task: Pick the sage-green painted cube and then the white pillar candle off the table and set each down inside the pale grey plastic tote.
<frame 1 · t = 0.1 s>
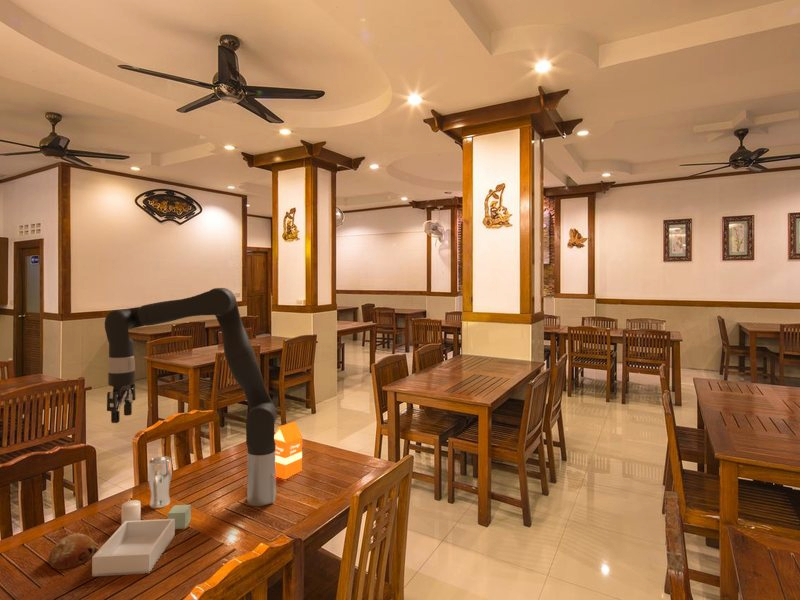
hand: (121, 418, 149), 29 cm above the table, fingers open, 8 cm apart
orange juice: (286, 474, 178), on the table
beer glass: (160, 504, 152), on the table
white pillar candle: (131, 526, 138), on the table
bread roll: (74, 559, 122), on the table
sage block: (179, 524, 139), on the table
grey tote: (136, 554, 124), on the table
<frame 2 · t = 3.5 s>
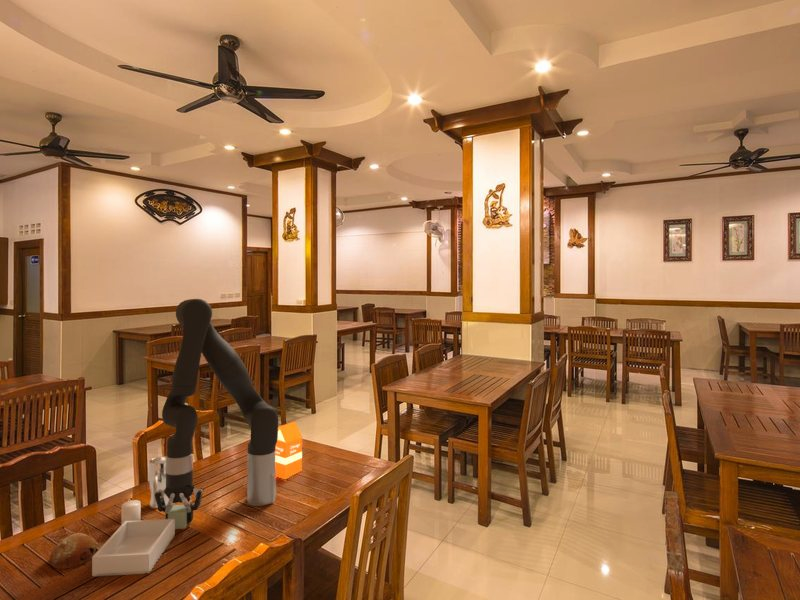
hand: (179, 523, 139), 0 cm above the table, fingers closed on sage block, 5 cm apart
sage block: (179, 524, 139), on the table, touching gripper
everything else where it was.
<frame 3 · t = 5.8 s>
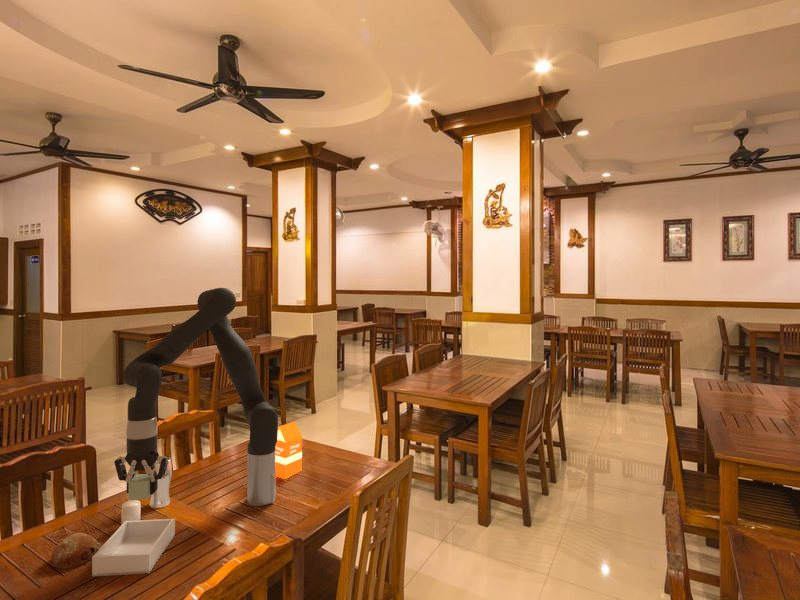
hand: (142, 493, 127), 15 cm above the table, fingers closed on sage block, 5 cm apart
sage block: (142, 495, 127), point 15 cm above the table, touching gripper
everything else where it was.
when the fingers open (3 cm above the table, at t = 8.5 s): sage block drops 2 cm, resting on grey tote.
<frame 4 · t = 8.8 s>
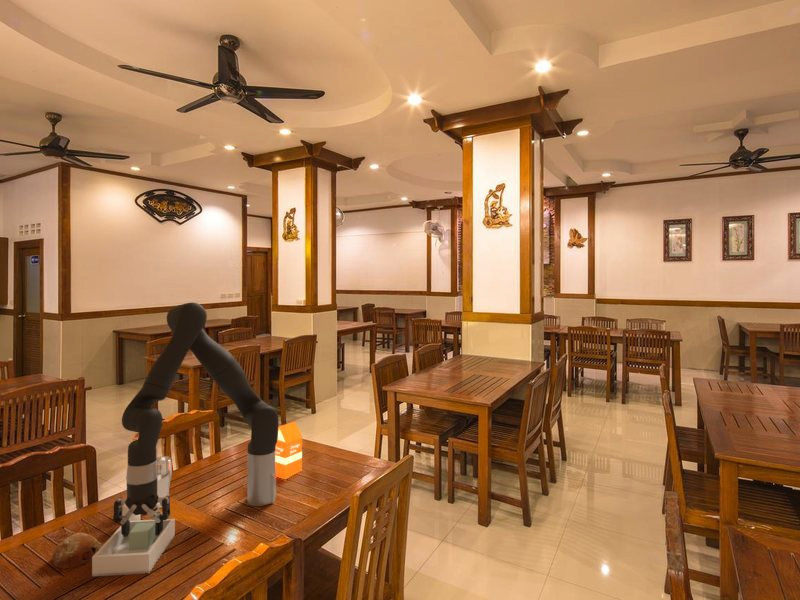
hand: (142, 534, 127), 4 cm above the table, fingers open, 8 cm apart
sage block: (142, 544, 127), point 1 cm above the table, touching grey tote
everything else where it was.
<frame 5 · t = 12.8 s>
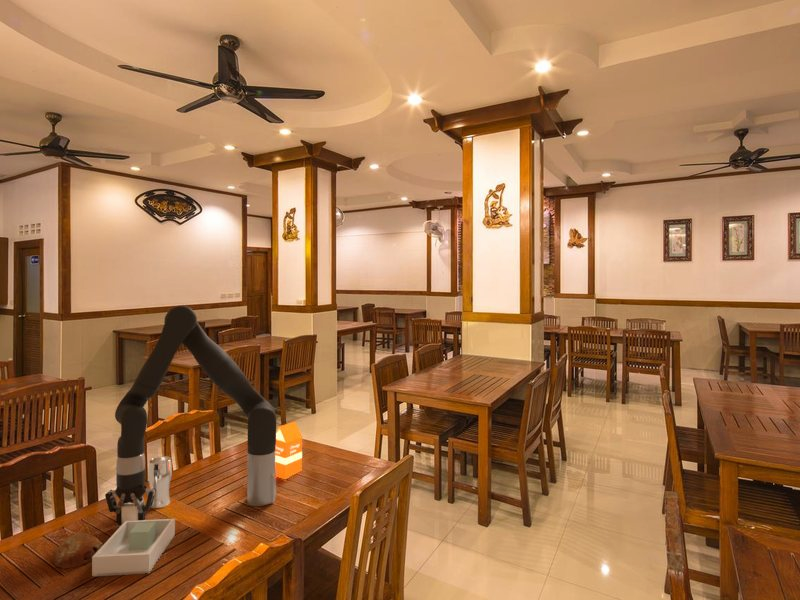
hand: (131, 523, 138), 1 cm above the table, fingers closed on white pillar candle, 5 cm apart
white pillar candle: (131, 526, 138), on the table, touching gripper
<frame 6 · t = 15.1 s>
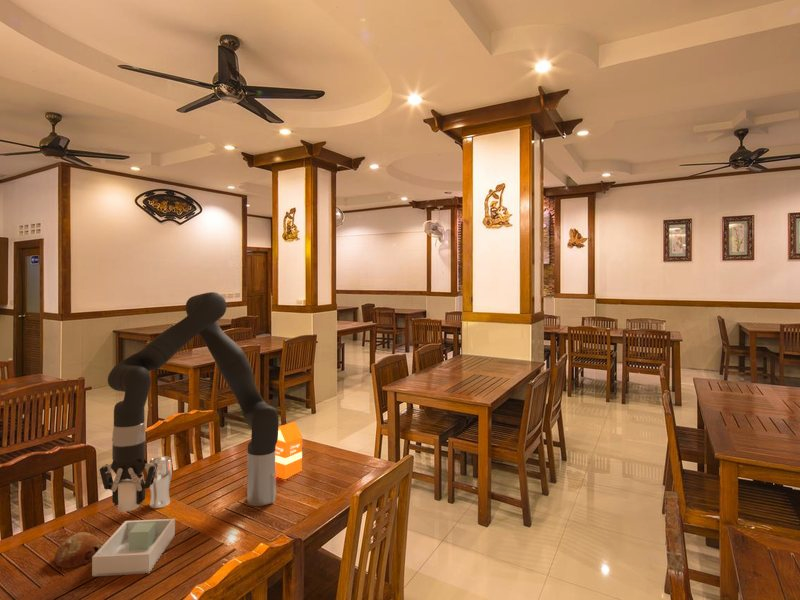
hand: (128, 503, 121), 16 cm above the table, fingers closed on white pillar candle, 5 cm apart
white pillar candle: (128, 506, 121), point 15 cm above the table, touching gripper
when the fingers open (3 cm above the table, at t = 17.9 s): white pillar candle drops 2 cm, resting on grey tote.
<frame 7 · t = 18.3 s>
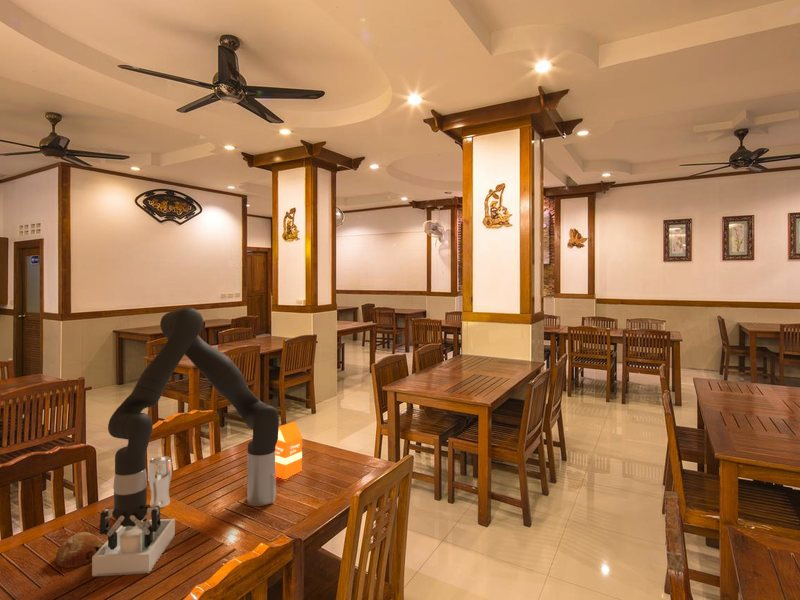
hand: (130, 547, 120), 4 cm above the table, fingers open, 8 cm apart
white pillar candle: (131, 559, 120), point 1 cm above the table, touching grey tote
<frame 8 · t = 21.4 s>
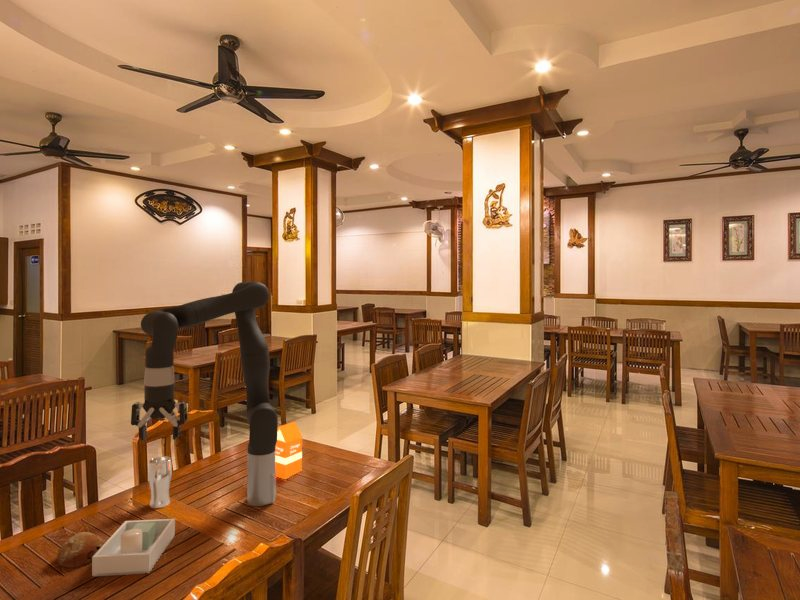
hand: (159, 439, 128), 30 cm above the table, fingers open, 8 cm apart
at the end: sage block inside the target area on the grey tote (3.5 cm from its centre), point 0.6 cm above the grey tote's base; white pillar candle inside the target area on the grey tote (3.5 cm from its centre), point 0.7 cm above the grey tote's base; the gripper is holding nothing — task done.
